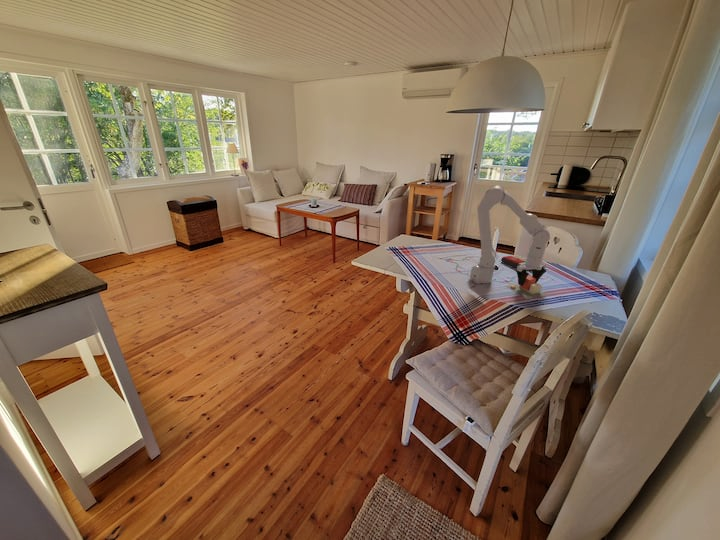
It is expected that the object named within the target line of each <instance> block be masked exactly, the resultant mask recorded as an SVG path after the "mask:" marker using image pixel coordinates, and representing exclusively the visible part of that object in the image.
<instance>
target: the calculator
mask: <svg viewBox="0 0 720 540" xmlns="http://www.w3.org/2000/svg"><path fill="white" fill-rule="evenodd" d="M526 259H527V257H523V256H520V255H518V254H513V255H508V256H503V257H501V261H502V262H504V263H505V265H506V264H507V265H506V266H508V265H509V267H510V266H511V268H513V269H515V270H516V268H517V266H520V265H522V264H524V263H525V262H526ZM501 261H500V262H501ZM502 262H501V263H502ZM504 263H503V264H504ZM526 271H527V273H529V272H533V269H530V270H526ZM528 271H529V272H528Z"/></svg>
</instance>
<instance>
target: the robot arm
mask: <svg viewBox="0 0 720 540" xmlns="http://www.w3.org/2000/svg"><path fill="white" fill-rule="evenodd" d="M497 204H500V205H502V206H507V207H508V208H509V209H510V210H511V211H512V212H513V213H514V214H515V215H516V216H517V217H518V219H519V224H520V226H522V227H523V229H524V230H525V231H526V232H527V233H528V234H529V235H531V236H532V240H531V243H530V244H529V248H528V252H527V256H526V258H527V259H526V262H525V263H524V264H522V265H520V266H517V268H516V269H515V273H516V275H517V285H518V284H519V285H521V286H523V285H524V282H525V280H526V278H527V276H528V275H530V273H529V272H527V271H526V270H530V269H533V271H532V275H531V276H532V277H534V278H536V281H535V284H538V282H539V280H540V278H541V277H542V276H543V275H544V274H545V273H546V272H547V269H546V268H547V266H548V263H546V262H544V261H543V258H544V254H545V251H546V249H547V247H546V246H547V244H548V242H549V241H550V240H551V235H550V232H549V230H548V228H547V227H546V225H545V224H544V223H543V224H542V223H541V221H539V220H538V216H537V215H536V214H533V213H527V212H526V210H524V208H523V207H522V206H521V205H520V204H519V202H518V201H517V200H516V198H514V197H513V195H512V194H510V193H509V192H508V191H507V190H505V189H504V187H503V186H501V185H497V184H496V185H493V186H491V187H490V188H489V189H487V191H486V192H485V193H484V195H483V196H482V198H481V201H480V202H479V204H478V206H477V208H476V209H477V217H478V219H477V220H478V229H479V236H480V247H481V248H480V251H481V252H480V254H481V255H480V258H479V261H478V262H477V264H476V265H475V266H474V265H473V266H472V268H471V270H470V275H469V278H468V281H471V280H472V282H474V283H476V284H484V283H485V284H487V283H489V284H490V283H491V282H492V280H493V277H494V271H495V267H496V264H495V263H496V258H497V253H496V251H495V249H494V246H493V244H494V243H493V237H492V225H491V217H490V216H491V215H490V210H491V209H493V207H494V206H495V205H497Z"/></svg>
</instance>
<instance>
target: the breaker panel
mask: <svg viewBox="0 0 720 540" xmlns="http://www.w3.org/2000/svg"><path fill="white" fill-rule="evenodd" d="M505 287H506V288H508V289H509V290H511V291H513V292H514V293H515V294H517V295H519V296H522V297H523V298H524V299H526V300H530V299H531V300H532V299H538V298H542V297H547V296H550V295H549V294H548V293H546V292H544V291H542V290H541V291H540V292H539V293H531V292H529V290H530V289H529V290H525V289H524V288H522V287H520V286H519V284H518V283H517V284H514V285H512V284H511V285H507V286H505Z"/></svg>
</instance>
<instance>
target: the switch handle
mask: <svg viewBox="0 0 720 540" xmlns="http://www.w3.org/2000/svg"><path fill="white" fill-rule="evenodd" d="M542 287H543V285H542V284H539V283H536V284H532V285H531V287H530V290H529V292H531V293H539V292H540V291H542Z"/></svg>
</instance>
